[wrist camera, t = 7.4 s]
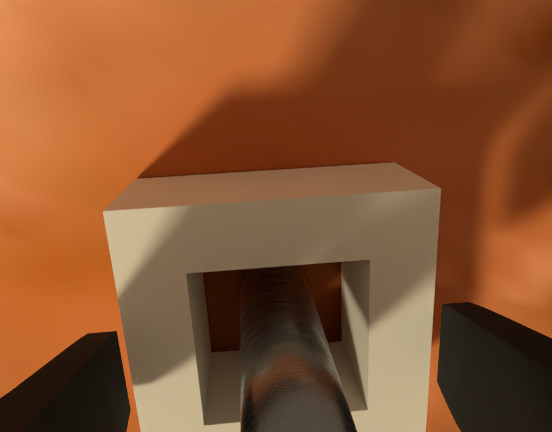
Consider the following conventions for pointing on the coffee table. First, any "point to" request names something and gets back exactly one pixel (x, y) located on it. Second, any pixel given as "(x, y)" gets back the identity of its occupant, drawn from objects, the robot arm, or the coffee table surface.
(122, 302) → the block with square hole
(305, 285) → the metal peg
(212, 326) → the coffee table surface
